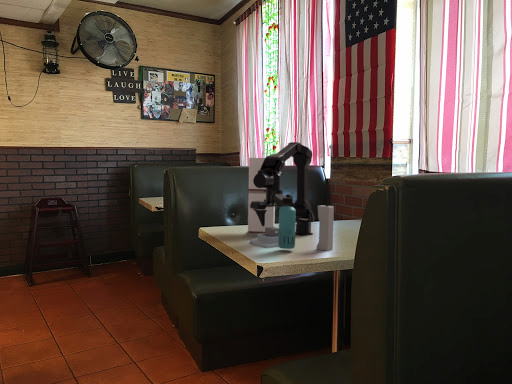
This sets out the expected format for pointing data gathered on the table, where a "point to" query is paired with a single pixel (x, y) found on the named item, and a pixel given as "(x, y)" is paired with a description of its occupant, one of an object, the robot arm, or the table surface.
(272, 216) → the white box wooden trim
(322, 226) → the vintage mobile phone
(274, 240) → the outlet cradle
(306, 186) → the robot arm
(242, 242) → the table surface
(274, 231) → the brick
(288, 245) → the beverage bottle
